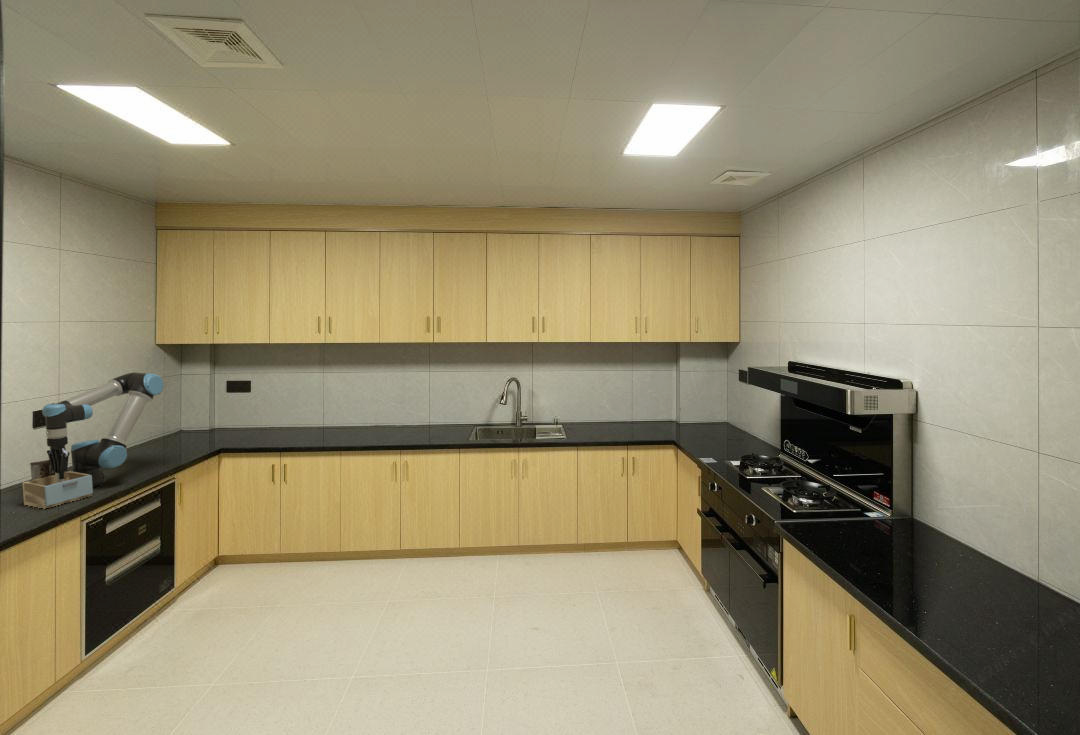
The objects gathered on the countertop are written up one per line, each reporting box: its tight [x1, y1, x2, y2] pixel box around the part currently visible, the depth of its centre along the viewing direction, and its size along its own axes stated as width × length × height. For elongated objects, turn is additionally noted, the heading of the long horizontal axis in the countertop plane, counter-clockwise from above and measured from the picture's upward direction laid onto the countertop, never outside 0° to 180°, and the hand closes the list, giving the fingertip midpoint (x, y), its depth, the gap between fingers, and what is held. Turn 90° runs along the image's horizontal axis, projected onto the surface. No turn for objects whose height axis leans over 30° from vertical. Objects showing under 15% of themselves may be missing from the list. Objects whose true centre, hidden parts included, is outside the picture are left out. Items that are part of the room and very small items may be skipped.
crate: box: [22, 470, 92, 510], centre depth 275 cm, size 20×15×11 cm
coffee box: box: [29, 459, 55, 480], centre depth 284 cm, size 9×6×16 cm
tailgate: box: [44, 475, 94, 506], centre depth 272 cm, size 20×2×9 cm, turn 160°
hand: (60, 485), depth 274 cm, fingers closed
